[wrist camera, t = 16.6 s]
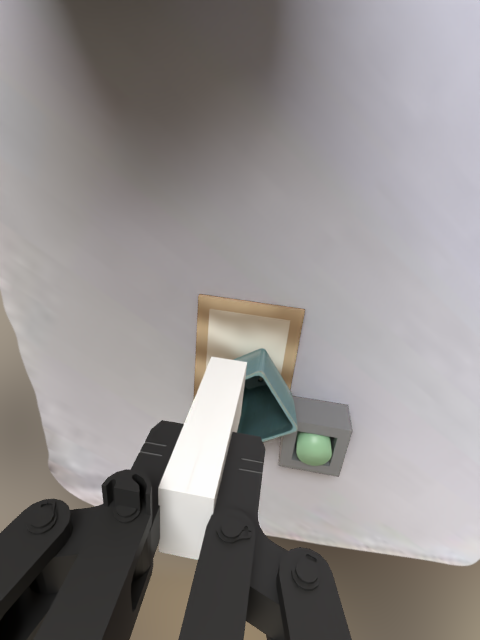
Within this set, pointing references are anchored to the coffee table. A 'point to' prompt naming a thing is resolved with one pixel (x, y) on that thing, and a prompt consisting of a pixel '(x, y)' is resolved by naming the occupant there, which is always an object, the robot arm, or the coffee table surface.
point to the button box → (321, 422)
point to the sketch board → (246, 333)
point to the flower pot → (265, 399)
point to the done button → (313, 448)
